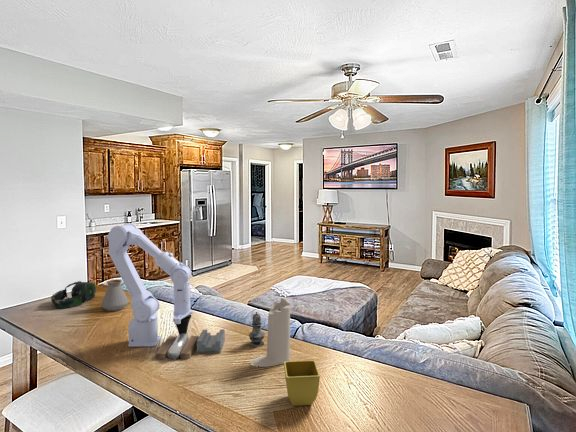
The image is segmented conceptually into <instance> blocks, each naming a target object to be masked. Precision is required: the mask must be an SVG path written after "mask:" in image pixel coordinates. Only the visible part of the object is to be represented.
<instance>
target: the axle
mask: <svg viewBox="0 0 576 432" xmlns="http://www.w3.org/2000/svg"><path fill="white" fill-rule="evenodd" d="M189 338H190V337H189V335H188V333H187V334H185V333H180V334H179V333H178V335H177V338H176V340H175V341H174V343H173V344H172V346H171V347H170V349H169V350H168V352H167V355H168V356H167V358H169V359H170V360H177V359H178V358H179V357H180V356H181V355H180V353H181V352H182V350H183V348H184V347H185V345H186V343H187V342H188V340H189Z"/></svg>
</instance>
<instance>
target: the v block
mask: <svg viewBox="0 0 576 432" xmlns="http://www.w3.org/2000/svg"><path fill="white" fill-rule="evenodd" d="M198 336H199V338H198V340H197V346H196V353H197V354H221V352H222V349H223V347H224V343H225V340H226V331H225V328H224V329H221V328H220V329H219V331H218V332H217V333H216V335H215V334H213V335H212V333H211V332H208V329H202V330H201V333H200V334H199V335H198Z"/></svg>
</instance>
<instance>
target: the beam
mask: <svg viewBox="0 0 576 432" xmlns="http://www.w3.org/2000/svg"><path fill="white" fill-rule="evenodd" d="M199 336H200V335H190V337H188V338H189V339H188V342H187V343H186V345H185V347H184V348H183V350H182V352H181V353H180V355H179V356H180V360H187V358H189V359H190V358H191V357H192V355H193V353H194V351H195V349H196V348H197V340H198V338H199ZM177 337H178V335H169V336H168V337H167V338H166V340H165V341H164V342H163V344H162V345H161V346H160V347H159V349H158V350H157V352H156V353H155V354H156V355H155V359H156V360H165V359H167V358H168V355H167V352H168V350H169V349H170V347H171V346H172V344H173V343H174V341H175V340H176V338H177ZM189 359H188V360H189Z"/></svg>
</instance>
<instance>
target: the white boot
mask: <svg viewBox="0 0 576 432" xmlns="http://www.w3.org/2000/svg"><path fill="white" fill-rule="evenodd" d="M267 315H268V318H267V336H266V337H267V338H266V339H267V340H266V355H262V356H259V357H255V358H254V359H253V360H249V361H248V362H247V363H248V364H249V363H251V364H253V366H256V367H255V368H258V366H259V367H263V368H266V367H267V368H268V367H273V366H274V367H275V366H280V365H284V362H285V361H291V302H290V301H289V300H288V298H285V297H280V301H276V302H275V304H274V305H271V306H270V307H269V311H268V314H267Z"/></svg>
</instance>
